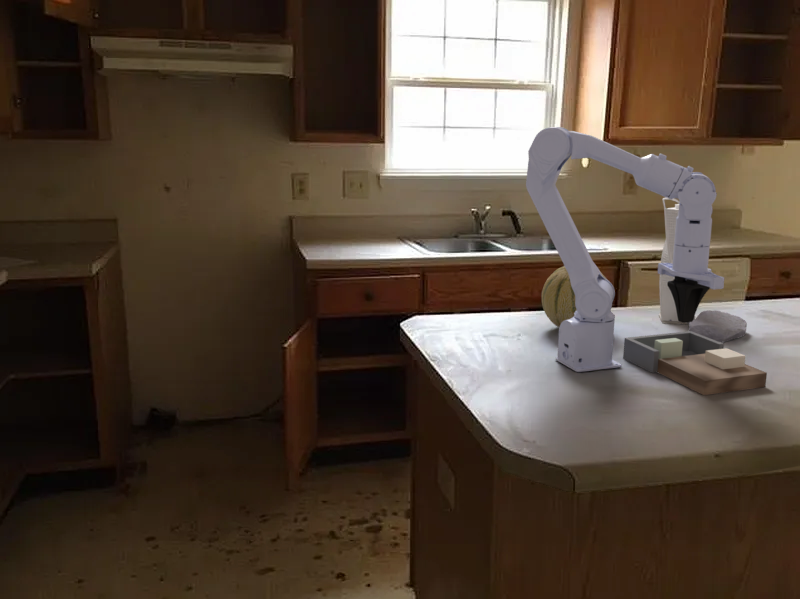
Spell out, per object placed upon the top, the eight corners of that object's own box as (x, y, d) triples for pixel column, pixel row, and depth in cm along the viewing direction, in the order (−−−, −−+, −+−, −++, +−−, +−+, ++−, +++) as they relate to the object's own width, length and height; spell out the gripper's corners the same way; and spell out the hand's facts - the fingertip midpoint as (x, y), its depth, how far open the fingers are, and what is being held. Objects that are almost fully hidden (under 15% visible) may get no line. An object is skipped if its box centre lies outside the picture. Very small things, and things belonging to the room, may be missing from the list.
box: (652, 372, 129) (654, 351, 128) (623, 358, 137) (624, 337, 136) (721, 364, 133) (723, 343, 132) (689, 350, 142) (690, 331, 141)
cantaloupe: (606, 323, 162) (610, 257, 159) (613, 341, 148) (618, 269, 145) (539, 320, 165) (542, 255, 161) (540, 338, 151) (543, 267, 147)
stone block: (746, 340, 155) (699, 324, 161) (753, 319, 154) (705, 304, 159) (731, 355, 146) (683, 338, 152) (739, 334, 145) (689, 317, 150)
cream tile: (722, 369, 123) (723, 358, 123) (704, 361, 127) (705, 350, 127) (744, 366, 124) (745, 355, 124) (725, 359, 128) (726, 348, 128)
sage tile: (661, 343, 130) (654, 340, 131) (659, 366, 131) (652, 363, 132) (682, 340, 131) (675, 337, 133) (680, 364, 132) (673, 361, 134)
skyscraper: (655, 324, 162) (665, 198, 156) (651, 315, 170) (660, 195, 163) (695, 326, 160) (707, 199, 154) (689, 317, 168) (700, 196, 161)
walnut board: (703, 395, 118) (705, 380, 118) (657, 372, 129) (658, 359, 129) (765, 386, 122) (766, 372, 121) (715, 365, 133) (716, 352, 132)
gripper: (742, 249, 118) (734, 329, 121) (683, 237, 132) (677, 309, 135) (706, 252, 116) (699, 333, 119) (650, 239, 130) (644, 313, 133)
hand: (685, 321), depth 127 cm, fingers closed
